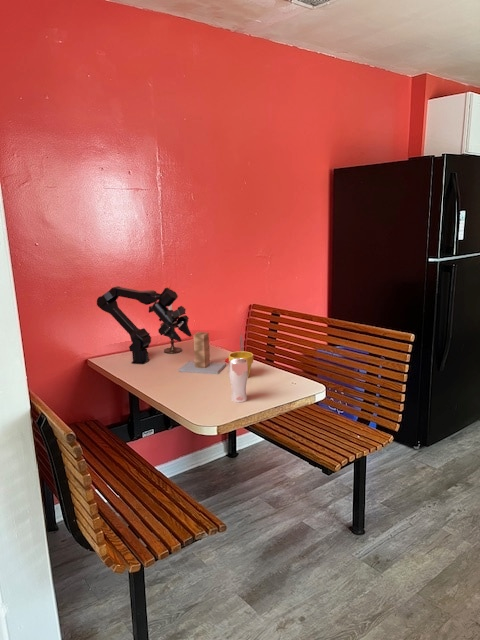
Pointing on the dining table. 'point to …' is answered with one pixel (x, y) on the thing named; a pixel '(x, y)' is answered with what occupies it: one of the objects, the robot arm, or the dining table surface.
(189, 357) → the dining table surface
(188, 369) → the board
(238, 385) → the beer glass
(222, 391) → the dining table surface
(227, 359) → the tow hook
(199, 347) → the walnut block
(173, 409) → the dining table surface
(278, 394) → the dining table surface
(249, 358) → the plant pot
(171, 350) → the candlestick
